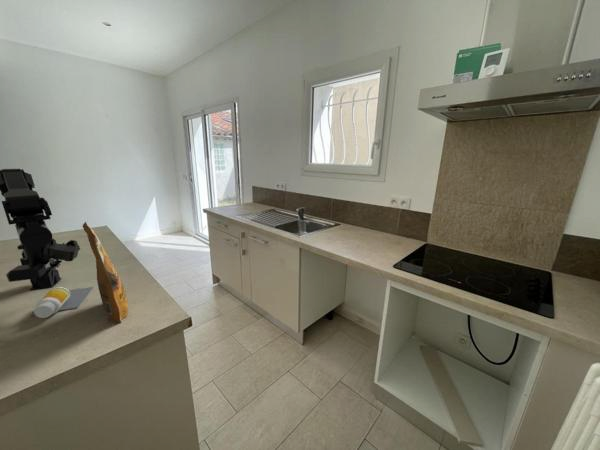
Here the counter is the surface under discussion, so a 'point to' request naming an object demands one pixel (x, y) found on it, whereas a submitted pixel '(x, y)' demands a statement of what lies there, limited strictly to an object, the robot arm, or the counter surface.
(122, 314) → the pancake mix bag
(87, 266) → the counter surface
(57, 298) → the supplement bottle
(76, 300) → the mat
